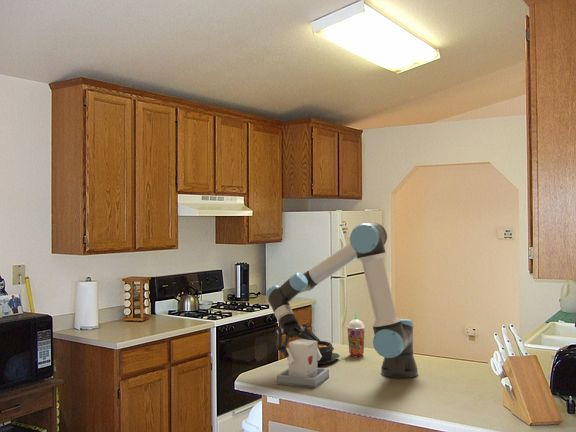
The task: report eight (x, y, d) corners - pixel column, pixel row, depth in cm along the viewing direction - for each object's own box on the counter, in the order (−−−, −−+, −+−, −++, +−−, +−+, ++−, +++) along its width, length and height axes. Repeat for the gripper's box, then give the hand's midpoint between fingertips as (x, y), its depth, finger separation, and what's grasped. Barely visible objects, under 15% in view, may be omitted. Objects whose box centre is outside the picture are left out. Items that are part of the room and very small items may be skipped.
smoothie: (347, 357, 279) (346, 314, 279) (348, 353, 287) (347, 311, 287) (365, 357, 278) (364, 315, 277) (365, 353, 286) (365, 312, 286)
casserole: (310, 371, 256) (309, 351, 256) (281, 363, 270) (281, 345, 270) (349, 360, 273) (348, 342, 273) (320, 354, 287) (320, 336, 287)
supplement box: (307, 382, 235) (306, 344, 235) (288, 379, 240) (287, 342, 240) (318, 377, 243) (318, 340, 243) (299, 373, 248) (299, 338, 248)
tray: (329, 377, 246) (329, 369, 246) (315, 388, 231) (315, 379, 231) (292, 373, 252) (292, 365, 252) (276, 384, 237) (276, 375, 237)
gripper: (307, 320, 261) (327, 361, 248) (257, 326, 248) (276, 370, 235) (313, 309, 256) (334, 351, 244) (263, 315, 243) (283, 360, 231)
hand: (306, 360), depth 239 cm, fingers open, 13 cm apart
